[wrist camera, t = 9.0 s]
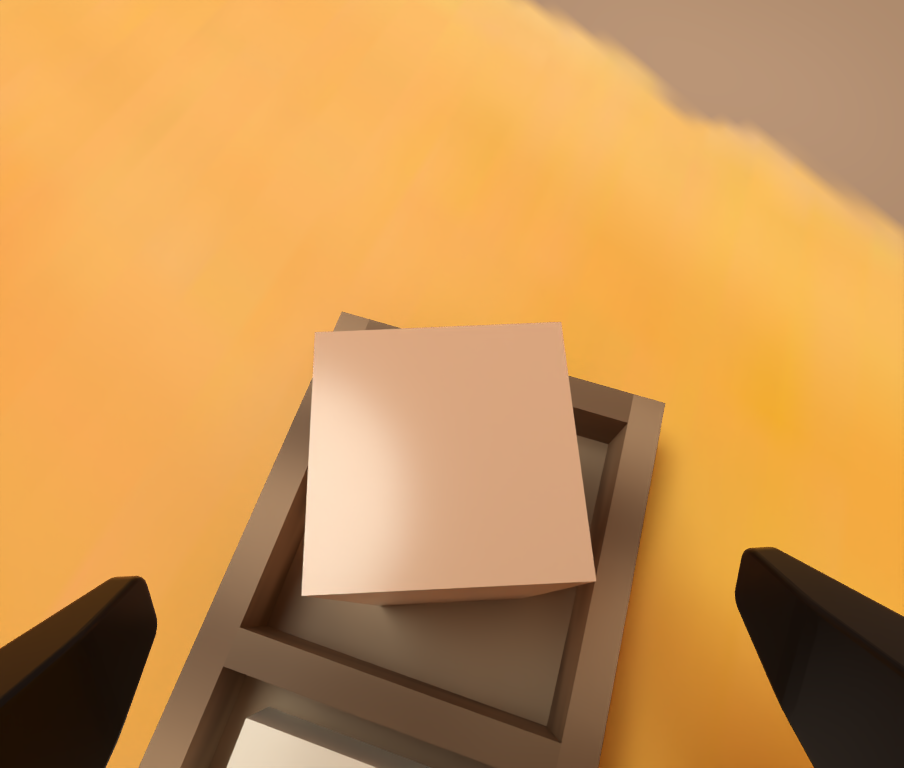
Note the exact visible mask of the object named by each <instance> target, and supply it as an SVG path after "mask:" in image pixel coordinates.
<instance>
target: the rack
mask: <svg viewBox="0 0 904 768" xmlns="http://www.w3.org/2000/svg"><path fill="white" fill-rule="evenodd" d="M382 329H401V328H398V327H394V326H391V325H387V324H384V323H380V322H377V321H373V320H370V319H366V318H363V317H359V316H356V315H352V314H348V313H345V312H342V313H341V315H340V317H339V319H338V322H337V324H336V326H335V328H334V331H333V332H335V331H358V330H382ZM568 377H569V384H570V392H571V399H572V406H573V414H574V421H575V428H576V435H577V443H578V450H579V457H580V465H581V472H582V479H583V487H584V494H585V501H586V509H587V516H588V523H589V531H590V538H591V545H592V553H593V560H594V567H595V575H596V581H595V582H591V583H587V584H582V585H578V586H574V587H570V588H566V589H561V590H557V591H553V592H549V593H544V594H540V595H536V596H532V597H528V598H523V599H509V600H489V601H469V602H449V603H429V604H409V605H390V606H376V605H369V604H361V603H353V602H345V601H337V600H330V599H322V598H314V597H306V596H302V576H303V557H304V538H305V518H306V499H307V479H308V460H309V441H310V421H311V402H312V383H313V378H312V380H311V382H310V385H309V387H308V389H307V391H306V393H305V396H304V398H303V400H302V402H301V405H300V407H299V409H298V411H297V414H296V416H295V418H294V420H293V423H292V425H291V427H290V429H289V432H288V434H287V436H286V438H285V441H284V443H283V445H282V447H281V450H280V452H279V454H278V456H277V458H276V461H275V463H274V465H273V467H272V470H271V472H270V474H269V476H268V479H267V481H266V483H265V485H264V488H263V490H262V492H261V494H260V497H259V499H258V501H257V503H256V506H255V508H254V510H253V512H252V515H251V517H250V519H249V521H248V523H247V526H246V528H245V530H244V532H243V535H242V537H241V539H240V541H239V544H238V546H237V548H236V550H235V553H234V555H233V557H232V559H231V562H230V564H229V566H228V568H227V571H226V573H225V575H224V577H223V580H222V582H221V584H220V586H219V589H218V591H217V593H216V595H215V597H214V600H213V602H212V604H211V606H210V609H209V611H208V613H207V615H206V618H205V620H204V622H203V624H202V627H201V629H200V631H199V633H198V636H197V638H196V640H195V642H194V645H193V647H192V649H191V651H190V654H189V656H188V658H187V660H186V662H185V665H184V667H183V669H182V671H181V674H180V676H179V678H178V680H177V683H176V685H175V687H174V689H173V692H172V694H171V696H170V698H169V701H168V703H167V705H166V707H165V710H164V712H163V714H162V716H161V719H160V721H159V723H158V725H157V728H156V730H155V732H154V734H153V736H152V739H151V741H150V743H149V745H148V748H147V750H146V752H145V754H144V757H143V759H142V761H141V763H140V766H139V768H227V765H228V763H229V760H230V757H231V755H232V752H233V750H234V747H235V745H236V742H237V740H238V737H239V735H240V732H241V730H242V727H243V725H244V722H245V720H246V718H247V717H249V716H251V715H253V714H255V713H257V712H259V711H261V710H263V709H265V708H267V707H271V708H274V709H277V710H279V711H282V712H285V713H287V714H290V715H293V716H295V717H298V718H300V719H303V720H306V721H308V722H311V723H314V724H316V725H319V726H322V727H324V728H327V729H330V730H332V731H335V732H338V733H340V734H343V735H346V736H348V737H351V738H354V739H356V740H359V741H362V742H364V743H367V744H370V745H372V746H375V747H377V748H380V749H383V750H385V751H388V752H391V753H393V754H396V755H399V756H401V757H404V758H407V759H409V760H412V761H415V762H417V763H420V764H423V765H425V766H428V767H431V768H598V766H599V761H600V755H601V750H602V744H603V739H604V733H605V728H606V723H607V717H608V712H609V706H610V701H611V695H612V690H613V684H614V679H615V674H616V668H617V663H618V657H619V652H620V646H621V641H622V635H623V630H624V625H625V619H626V614H627V608H628V603H629V597H630V592H631V586H632V581H633V576H634V570H635V565H636V559H637V554H638V548H639V543H640V537H641V532H642V526H643V521H644V516H645V510H646V505H647V499H648V494H649V488H650V483H651V477H652V472H653V467H654V461H655V456H656V450H657V445H658V439H659V434H660V428H661V423H662V418H663V412H664V407H665V403H663V402H659V401H656V400H652V399H648V398H645V397H641V396H638V395H634V394H631V393H627V392H624V391H620V390H617V389H613V388H610V387H606V386H603V385H599V384H596V383H592V382H588V381H585V380H581V379H578V378H574V377H571V376H568Z"/></svg>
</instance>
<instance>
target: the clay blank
mask: <svg viewBox="0 0 904 768" xmlns="http://www.w3.org/2000/svg"><path fill="white" fill-rule="evenodd" d="M595 581H596V575H595V567H594V560H593V553H592V545H591V538H590V531H589V523H588V516H587V509H586V501H585V494H584V487H583V479H582V472H581V465H580V457H579V450H578V443H577V435H576V428H575V421H574V414H573V406H572V399H571V392H570V384H569V377H568V370H567V362H566V355H565V348H564V340H563V333H562V326H561V322H550V323H526V324H502V325H478V326H454V327H430V328H406V329H382V330H358V331H335V332H315V344H314V363H313V383H312V402H311V421H310V441H309V460H308V479H307V499H306V518H305V538H304V557H303V576H302V596H306V597H314V598H322V599H330V600H337V601H345V602H353V603H361V604H369V605H376V606H390V605H409V604H429V603H449V602H469V601H489V600H509V599H523V598H528V597H532V596H536V595H540V594H544V593H549V592H553V591H557V590H561V589H566V588H570V587H574V586H578V585H582V584H587V583H591V582H595Z"/></svg>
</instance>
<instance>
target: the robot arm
mask: <svg viewBox="0 0 904 768" xmlns="http://www.w3.org/2000/svg"><path fill="white" fill-rule="evenodd" d="M735 599H736V604H737V607H738V610H739V612H740V614H741V617H742V619H743V621H744V624H745V626H746V628H747V631H748V633H749V635H750V638H751V640H752V642H753V644H754V647H755V649H756V651H757V654H758V656H759V658H760V661H761V663H762V665H763V668H764V670H765V672H766V675H767V677H768V679H769V681H770V684H771V686H772V688H773V691H774V693H775V695H776V697H777V699H778V701H779V704H780V706H781V708H782V710H783V712H784V713H785V715H786V717H787V719H788V721H789V723H790V725H791V727H792V728H793V730H794V732H795V734H796V736H797V737H798V739H799V741H800V743H801V745H802V747H803V748H804V750H805V752H806V754H807V756H808V757H809V759H810V761H811V763H812V765H813V766H814V768H904V617H903V616H902V615H900V614H898V613H896V612H894V611H892V610H890V609H889V608H887V607H885V606H883V605H881V604H879V603H877V602H876V601H874V600H872V599H870V598H868V597H866V596H864V595H862V594H861V593H859V592H857V591H855V590H853V589H851V588H849V587H848V586H846V585H844V584H842V583H840V582H838V581H836V580H835V579H833V578H831V577H829V576H827V575H825V574H823V573H821V572H820V571H818V570H816V569H814V568H812V567H810V566H808V565H807V564H805V563H803V562H801V561H799V560H797V559H795V558H794V557H792V556H790V555H788V554H786V553H784V552H782V551H780V550H779V549H776V548H773V547H760V548H749V549H746V550H745V551H744V553H743V555H742V558H741V563H740V568H739V573H738V578H737V583H736V588H735ZM156 630H157V618H156V614H155V610H154V607H153V603H152V600H151V597H150V593H149V590H148V587H147V584H146V581H145V580H144V579H143V578H142V577H139V576H125V577H114V578H111V579H109V580H107V581H106V582H104V583H103V584H101V585H99V586H98V587H96V588H95V589H93V590H92V591H90V592H88V593H87V594H85V595H84V596H82V597H81V598H79V599H77V600H76V601H74V602H73V603H71V604H70V605H68V606H66V607H65V608H63V609H62V610H60V611H59V612H57V613H55V614H54V615H52V616H51V617H49V618H48V619H46V620H44V621H43V622H41V623H40V624H38V625H37V626H35V627H33V628H32V629H30V630H29V631H27V632H25V633H24V634H22V635H21V636H19V637H18V638H16V639H14V640H13V641H11V642H10V643H8V644H7V645H5V646H3V647H2V648H0V768H106V765H107V763H108V761H109V759H110V757H111V754H112V752H113V750H114V748H115V745H116V743H117V741H118V738H119V736H120V733H121V731H122V728H123V725H124V723H125V720H126V717H127V714H128V711H129V709H130V706H131V703H132V700H133V697H134V695H135V692H136V689H137V686H138V683H139V680H140V678H141V675H142V672H143V669H144V666H145V663H146V661H147V658H148V655H149V652H150V649H151V646H152V644H153V641H154V638H155V635H156Z"/></svg>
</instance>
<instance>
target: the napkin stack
mask: <svg viewBox="0 0 904 768" xmlns="http://www.w3.org/2000/svg"><path fill="white" fill-rule="evenodd" d="M227 768H431V767H428V766H425V765H423V764H420V763H417V762H415V761H412V760H409V759H407V758H404V757H401V756H399V755H396V754H393V753H391V752H388V751H385V750H383V749H380V748H377V747H375V746H372V745H370V744H367V743H364V742H362V741H359V740H356V739H354V738H351V737H348V736H346V735H343V734H340V733H338V732H335V731H332V730H330V729H327V728H324V727H322V726H319V725H316V724H314V723H311V722H308V721H306V720H303V719H300V718H298V717H295V716H293V715H290V714H287V713H285V712H282V711H279V710H277V709H274V708H271V707H267V708H265V709H263V710H261V711H259V712H257V713H255V714H253V715H251V716H249V717H247V718H246V720H245V722H244V725H243V727H242V730H241V732H240V735H239V737H238V740H237V742H236V745H235V747H234V750H233V752H232V755H231V757H230V760H229V763H228V765H227Z"/></svg>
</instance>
